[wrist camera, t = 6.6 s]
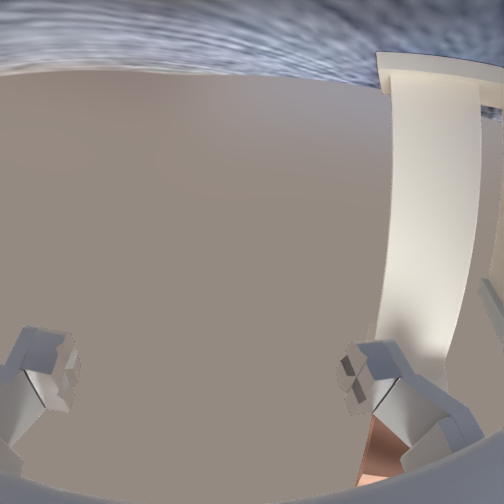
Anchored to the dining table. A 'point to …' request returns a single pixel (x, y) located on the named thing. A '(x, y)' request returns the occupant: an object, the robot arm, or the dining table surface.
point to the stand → (436, 204)
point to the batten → (381, 454)
